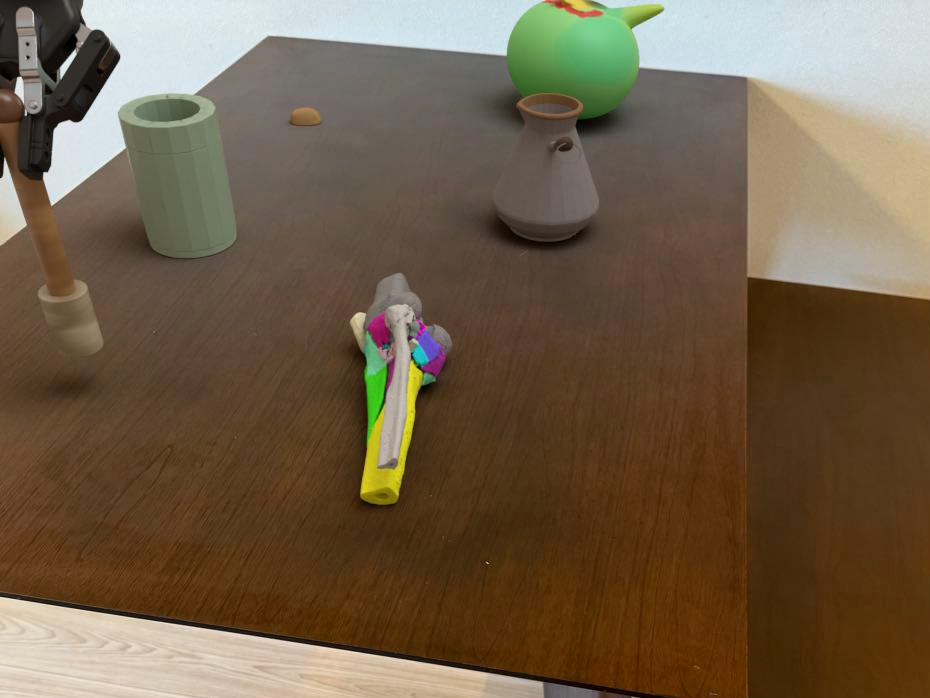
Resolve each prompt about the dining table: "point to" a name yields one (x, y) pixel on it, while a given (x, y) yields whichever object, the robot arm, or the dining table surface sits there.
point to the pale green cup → (179, 174)
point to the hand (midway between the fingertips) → (10, 173)
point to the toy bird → (578, 52)
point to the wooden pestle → (49, 249)
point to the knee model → (394, 380)
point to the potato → (305, 116)
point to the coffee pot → (547, 173)
